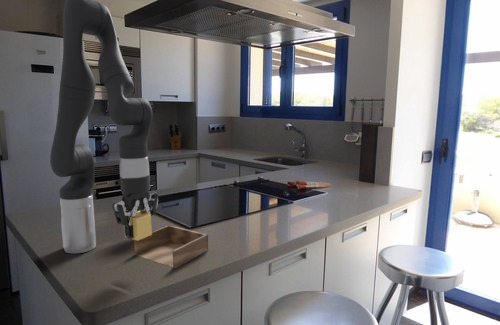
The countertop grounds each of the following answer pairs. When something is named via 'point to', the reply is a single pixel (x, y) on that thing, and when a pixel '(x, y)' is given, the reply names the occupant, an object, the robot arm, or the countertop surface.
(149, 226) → the block
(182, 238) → the box
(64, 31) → the robot arm
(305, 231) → the countertop surface
